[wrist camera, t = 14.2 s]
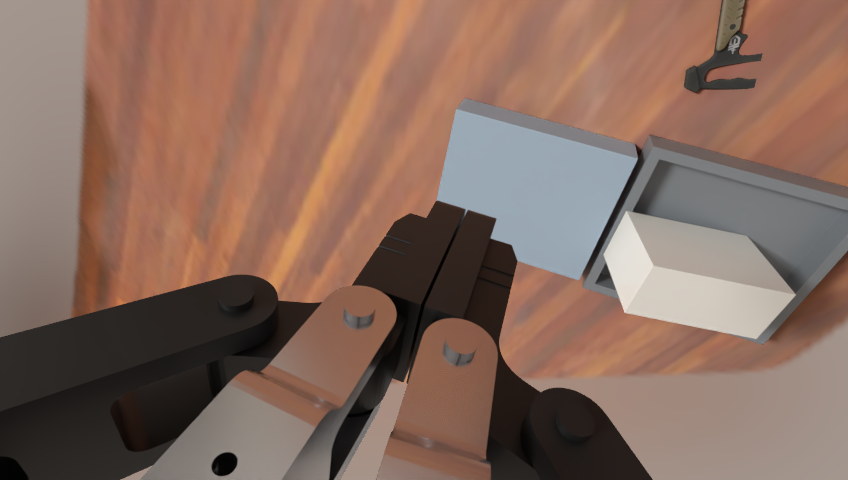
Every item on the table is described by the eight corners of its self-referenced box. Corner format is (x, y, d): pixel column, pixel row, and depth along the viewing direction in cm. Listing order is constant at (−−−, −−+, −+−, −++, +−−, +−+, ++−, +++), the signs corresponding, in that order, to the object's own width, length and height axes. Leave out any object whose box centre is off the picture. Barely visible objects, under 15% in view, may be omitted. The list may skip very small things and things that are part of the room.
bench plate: (464, 98, 38) (456, 108, 36) (634, 143, 36) (638, 158, 34) (438, 217, 45) (429, 233, 43) (579, 261, 43) (578, 280, 41)
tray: (649, 134, 36) (653, 146, 34) (867, 192, 33) (885, 208, 31) (583, 271, 44) (582, 287, 42) (754, 325, 42) (763, 344, 40)
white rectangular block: (626, 210, 37) (653, 265, 31) (747, 235, 37) (796, 294, 31) (603, 254, 39) (624, 312, 34) (716, 277, 40) (756, 339, 34)
